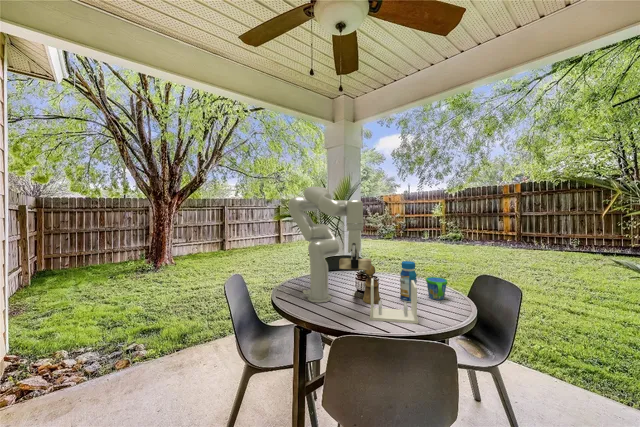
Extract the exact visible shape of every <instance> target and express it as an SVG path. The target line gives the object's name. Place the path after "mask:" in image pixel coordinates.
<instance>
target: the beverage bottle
mask: <svg viewBox="0 0 640 427" xmlns="http://www.w3.org/2000/svg"><path fill="white" fill-rule="evenodd" d="M401 269H402V270H401V271H400V273H399V276H400V278H399V282H400V291H399V293H400V295H399V298H400V301H402V302H403V303H404V302H407V303H411V280H414V282H415V284H416V285H417V283H418V279H417V272H416V271H415V269H416V263H415V261H410V260H404V261H403V260H402V261H401Z"/></svg>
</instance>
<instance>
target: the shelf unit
mask: <svg viewBox="0 0 640 427" xmlns="http://www.w3.org/2000/svg"><path fill="white" fill-rule="evenodd" d="M374 279H375V278H371V304H370V309H369V321H376V322H388V323H389V322H390V323H401V324H402V323H403V324H404V323H405V324H415V325H416V324H419V319H418V287H417V283H416V284H415V282H414V280H411V302H410V304H411V305H410V307H411V308H410V309H409V308H408V307H409V306H408V302H404V301H403V309H398V308H397V309H395V308H383V301H382V300H381V301H379V303H378V308H377V307H374V306H375V304H374Z"/></svg>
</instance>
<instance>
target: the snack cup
mask: <svg viewBox="0 0 640 427" xmlns="http://www.w3.org/2000/svg"><path fill="white" fill-rule="evenodd" d="M425 281H426V285H427V286H426V287H427V293H428V298H430V299H431V300H436V301H443V300H444V299H445V295H446V291H447V285H448V283H449V282H448V279H447V278H443V277H439V276H436V277H435V276H430V277H429V276H428V277H426V278H425Z"/></svg>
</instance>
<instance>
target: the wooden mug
mask: <svg viewBox="0 0 640 427" xmlns="http://www.w3.org/2000/svg"><path fill="white" fill-rule="evenodd" d="M363 272H364V274H365V275H366V276H367V278H366V279H365V282H364V294H363V298H362V300H363V303H365V304H369V305H371V278H373V277H374V275H375V273H376V268H375V266H374V265H373V264H371V270H363ZM381 299H382V298H381V297H380V291H379V282H378V279H375V278H374V305H377V304H378V305H379V301H382V300H381Z"/></svg>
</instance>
